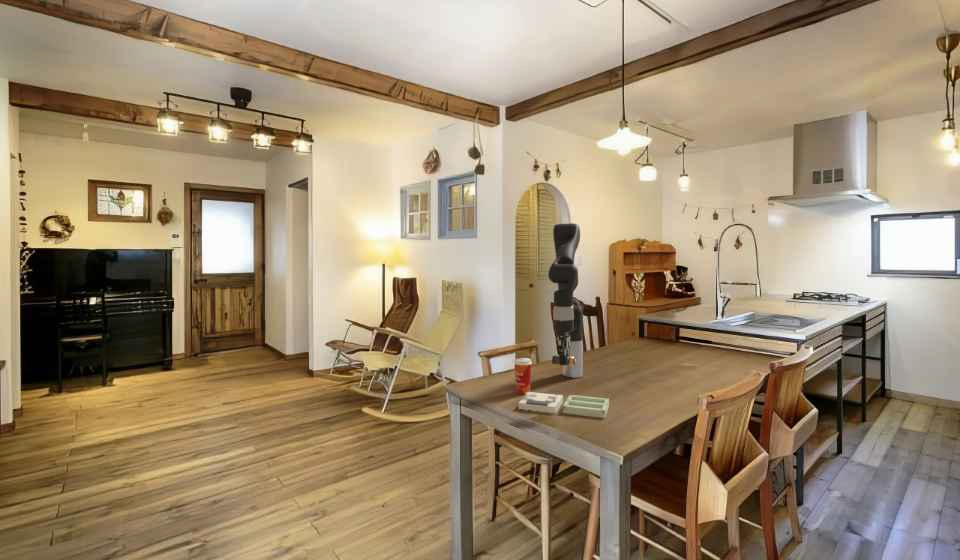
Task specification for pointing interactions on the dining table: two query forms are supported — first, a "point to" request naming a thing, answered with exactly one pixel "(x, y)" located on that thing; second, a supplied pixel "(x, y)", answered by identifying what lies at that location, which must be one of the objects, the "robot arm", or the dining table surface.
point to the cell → (569, 360)
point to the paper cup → (523, 375)
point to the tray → (586, 406)
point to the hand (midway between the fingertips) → (563, 363)
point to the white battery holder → (541, 402)
